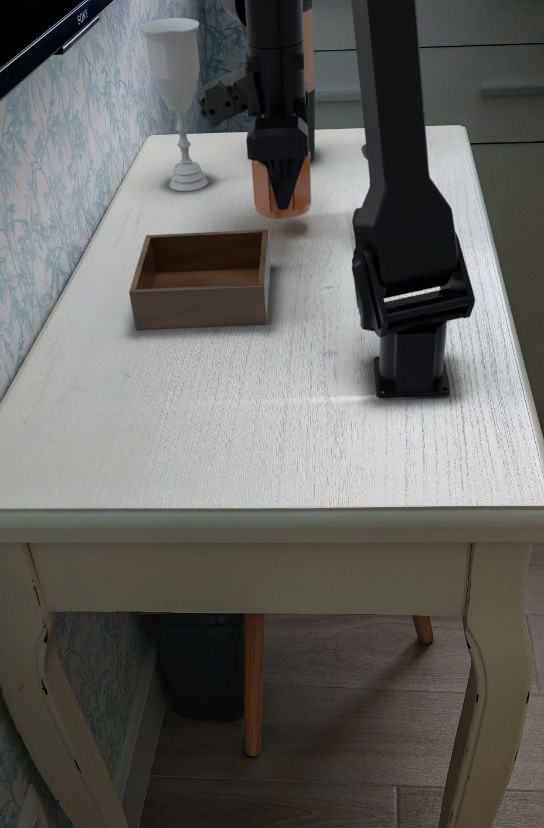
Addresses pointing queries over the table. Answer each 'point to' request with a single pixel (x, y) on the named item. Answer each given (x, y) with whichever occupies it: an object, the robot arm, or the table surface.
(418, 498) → the table surface
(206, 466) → the table surface
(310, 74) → the travel mug
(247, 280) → the wooden box
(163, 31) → the chalice
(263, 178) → the bucket
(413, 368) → the robot arm
